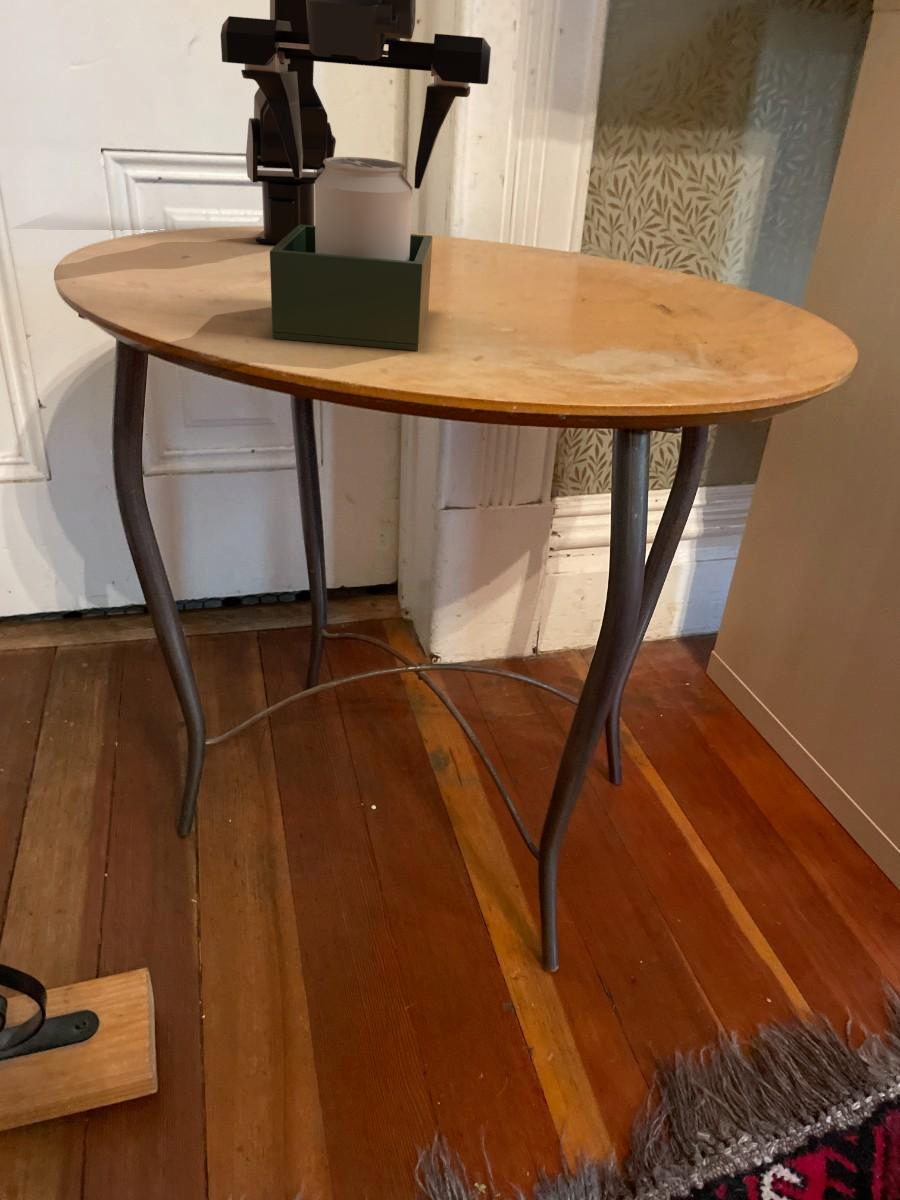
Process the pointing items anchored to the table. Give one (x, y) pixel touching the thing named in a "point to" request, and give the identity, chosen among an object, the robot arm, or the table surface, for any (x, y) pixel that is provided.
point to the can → (363, 209)
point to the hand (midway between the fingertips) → (357, 183)
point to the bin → (349, 294)
